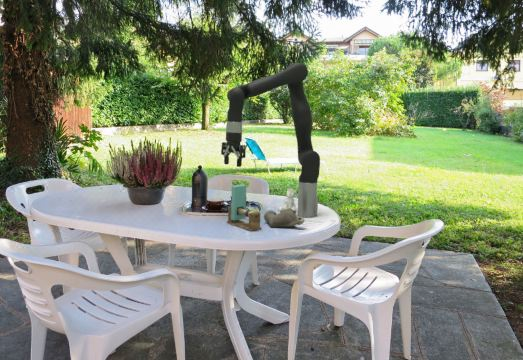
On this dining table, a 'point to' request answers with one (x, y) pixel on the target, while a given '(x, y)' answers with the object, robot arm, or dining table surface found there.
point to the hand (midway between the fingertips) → (232, 165)
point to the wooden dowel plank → (251, 226)
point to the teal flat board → (238, 201)
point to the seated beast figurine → (288, 201)
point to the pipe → (283, 218)
